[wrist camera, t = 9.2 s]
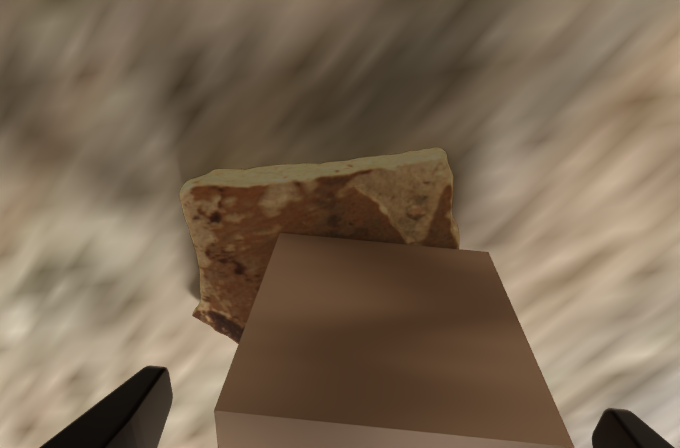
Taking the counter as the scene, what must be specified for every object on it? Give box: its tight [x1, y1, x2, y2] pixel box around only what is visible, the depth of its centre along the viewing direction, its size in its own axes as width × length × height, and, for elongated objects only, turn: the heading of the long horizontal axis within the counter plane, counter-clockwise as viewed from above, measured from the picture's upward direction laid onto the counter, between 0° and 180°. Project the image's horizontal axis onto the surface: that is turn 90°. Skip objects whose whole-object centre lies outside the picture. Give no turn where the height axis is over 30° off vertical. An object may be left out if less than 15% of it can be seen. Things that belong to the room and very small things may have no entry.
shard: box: [179, 147, 459, 344], centre depth 13 cm, size 11×8×2 cm
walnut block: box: [214, 233, 574, 448], centre depth 9 cm, size 5×5×5 cm
